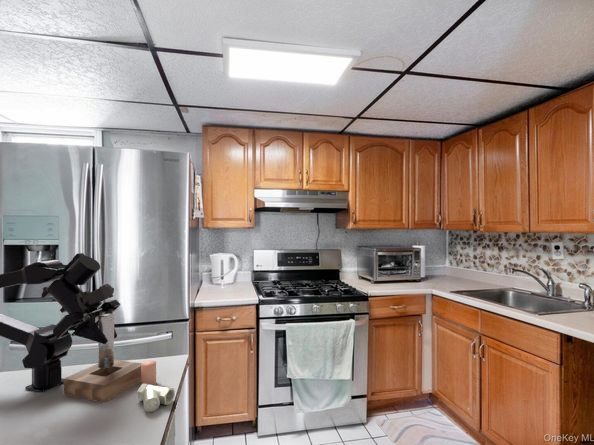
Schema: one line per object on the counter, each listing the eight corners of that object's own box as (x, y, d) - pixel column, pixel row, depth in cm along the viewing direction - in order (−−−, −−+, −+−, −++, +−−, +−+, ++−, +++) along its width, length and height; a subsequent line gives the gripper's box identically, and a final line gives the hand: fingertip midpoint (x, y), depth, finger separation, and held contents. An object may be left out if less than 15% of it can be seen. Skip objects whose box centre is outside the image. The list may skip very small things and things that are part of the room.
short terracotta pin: (138, 386, 85) (138, 365, 85) (148, 380, 89) (148, 360, 89) (149, 388, 84) (149, 366, 84) (159, 382, 87) (159, 361, 88)
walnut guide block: (63, 394, 81) (63, 378, 81) (108, 372, 94) (108, 358, 94) (104, 402, 77) (104, 385, 77) (145, 378, 90) (145, 363, 90)
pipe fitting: (154, 418, 72) (175, 400, 78) (153, 400, 71) (174, 384, 78) (126, 412, 74) (148, 395, 81) (125, 395, 74) (147, 379, 80)
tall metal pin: (95, 368, 84) (96, 317, 84) (101, 363, 87) (101, 314, 87) (110, 367, 84) (111, 316, 85) (116, 362, 88) (116, 313, 88)
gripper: (64, 281, 77) (109, 329, 76) (114, 271, 96) (150, 309, 95) (32, 314, 77) (77, 362, 76) (88, 298, 96) (124, 336, 95)
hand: (111, 340), depth 86 cm, fingers closed on tall metal pin, 4 cm apart
